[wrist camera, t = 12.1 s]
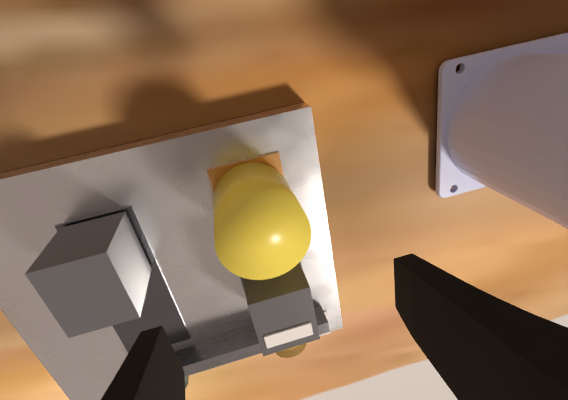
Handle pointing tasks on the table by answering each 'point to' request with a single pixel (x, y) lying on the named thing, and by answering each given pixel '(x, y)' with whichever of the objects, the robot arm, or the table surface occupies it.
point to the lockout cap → (258, 222)
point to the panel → (161, 243)
